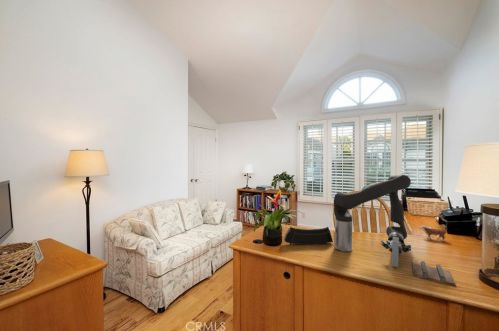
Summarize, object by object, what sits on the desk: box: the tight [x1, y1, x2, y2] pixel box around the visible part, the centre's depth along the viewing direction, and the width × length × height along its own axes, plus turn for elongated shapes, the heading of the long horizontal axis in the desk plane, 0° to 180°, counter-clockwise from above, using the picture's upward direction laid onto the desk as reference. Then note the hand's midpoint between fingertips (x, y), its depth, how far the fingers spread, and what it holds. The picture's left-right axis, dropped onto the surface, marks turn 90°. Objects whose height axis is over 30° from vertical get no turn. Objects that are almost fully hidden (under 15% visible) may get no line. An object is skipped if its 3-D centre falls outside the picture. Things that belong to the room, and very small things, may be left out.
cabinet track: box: [412, 260, 457, 287], centre depth 101 cm, size 14×13×3 cm
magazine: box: [283, 226, 334, 246], centre depth 138 cm, size 17×3×30 cm
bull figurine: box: [419, 225, 447, 242], centre depth 146 cm, size 4×13×8 cm, turn 54°
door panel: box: [391, 237, 399, 268], centre depth 109 cm, size 2×8×12 cm, turn 145°
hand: (395, 251), depth 108 cm, fingers closed on door panel, 2 cm apart
